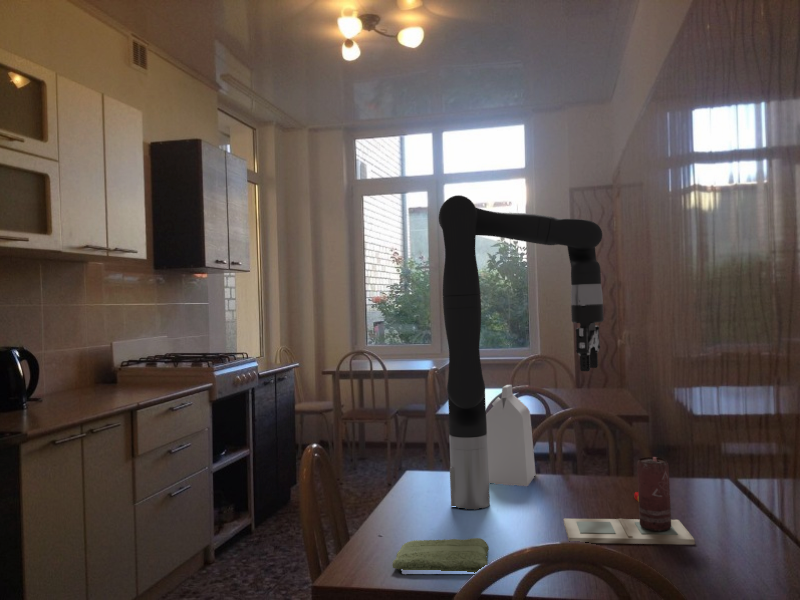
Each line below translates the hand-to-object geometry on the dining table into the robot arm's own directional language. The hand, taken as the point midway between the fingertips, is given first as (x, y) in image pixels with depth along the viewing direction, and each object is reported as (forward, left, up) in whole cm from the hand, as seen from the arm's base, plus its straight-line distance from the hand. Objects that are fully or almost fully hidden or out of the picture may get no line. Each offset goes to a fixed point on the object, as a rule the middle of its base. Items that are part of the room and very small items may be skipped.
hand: (589, 369), depth 159 cm
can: (+9, -23, -31) cm, 39 cm away
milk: (-20, +20, -32) cm, 43 cm away
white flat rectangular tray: (+3, -23, -32) cm, 40 cm away
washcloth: (-34, -40, -33) cm, 62 cm away
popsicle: (+13, -4, -33) cm, 35 cm away
